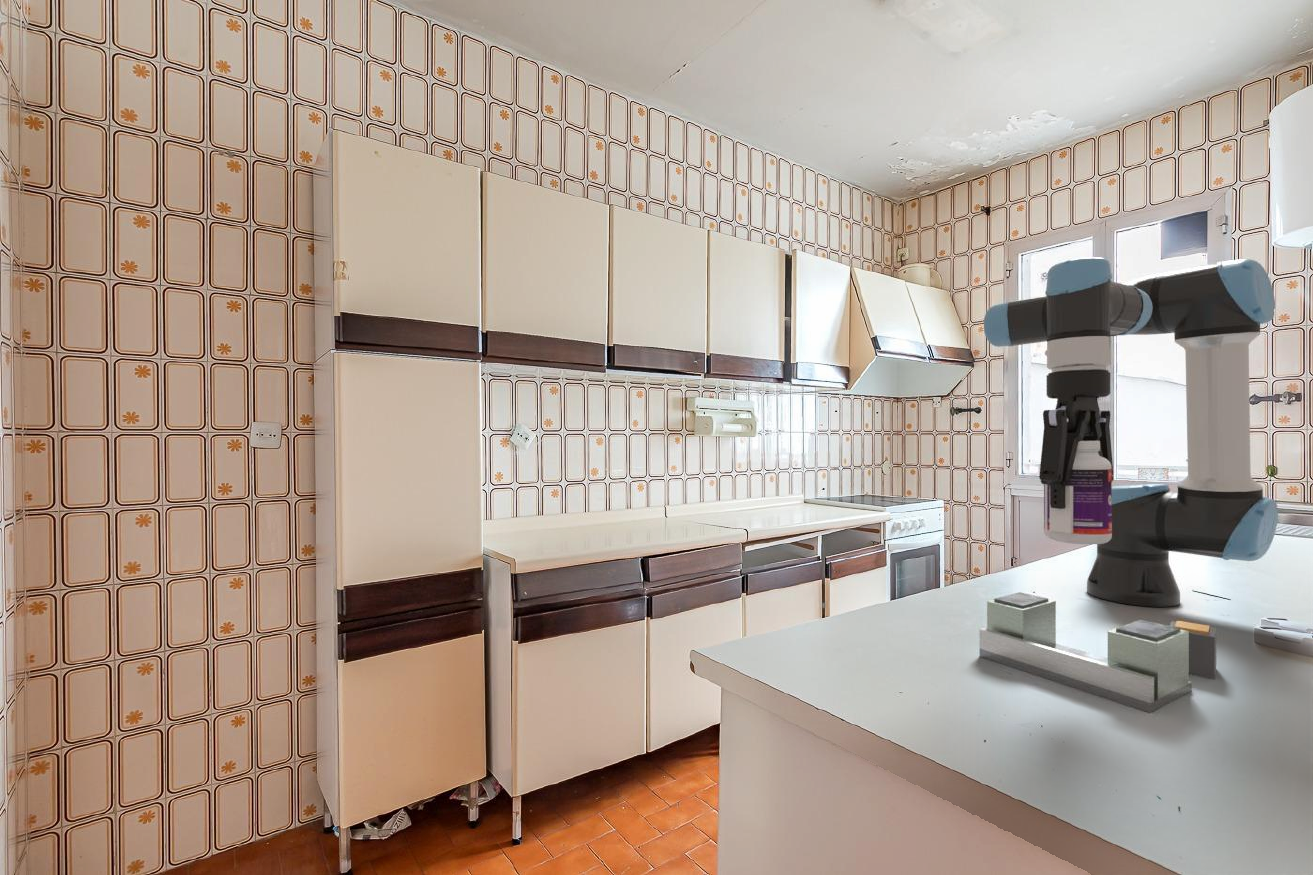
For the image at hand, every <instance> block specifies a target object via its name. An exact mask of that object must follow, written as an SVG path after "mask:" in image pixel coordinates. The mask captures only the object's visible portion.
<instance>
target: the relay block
mask: <svg viewBox="0 0 1313 875" xmlns="http://www.w3.org/2000/svg"><path fill="white" fill-rule="evenodd" d="M1168 626H1172V627H1177V628H1180V629H1182V630H1186V631H1189V675H1191V676H1195V677H1200V678H1205V679H1209V680H1215V679H1216V673H1217V637H1218V636H1217V634H1218V633H1217V628H1215V627H1210V625H1209V624H1200V623H1195V622H1188V621H1182V620H1176V621H1173V620H1171V621H1170V623H1169V625H1168Z"/></svg>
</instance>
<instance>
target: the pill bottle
mask: <svg viewBox="0 0 1313 875" xmlns="http://www.w3.org/2000/svg"><path fill="white" fill-rule="evenodd" d="M1099 449H1100V441H1079V442H1078V447H1077V451H1076V456H1075V460H1074V464H1073V469H1072V473H1071V477H1070V482H1069V485H1068V486H1073V533H1064V532H1056V531H1050V485H1048V484H1043V533H1044V535H1045V537H1047V538H1049V539H1050V540H1053V541H1056V542H1060V543H1065V544H1075V545H1076V544H1077V545H1097V544H1104V543H1107V542H1109V541H1110V540H1111V538H1112V487H1113V486H1112V483H1113V481H1112V478H1111V475H1112V474H1111V472H1112V470H1111V463H1110V462H1109V461H1108V460H1107V459H1106V458H1104V457H1101V456H1099V454H1098V451H1100V450H1099Z"/></svg>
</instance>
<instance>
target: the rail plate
mask: <svg viewBox="0 0 1313 875" xmlns="http://www.w3.org/2000/svg"><path fill="white" fill-rule="evenodd" d="M1056 602H1057V601H1056V600H1051V599H1049V598H1046V597H1042V596H1038V595H1034V594H1029V593H1024V592H1021V591H1020V592H1016V593H1011V594H1008V595H1007V594H1006V595H1003V596H999V597H996V598H994V599H991V600H988V601H986V628H984V627H983V628H982V627H981V628H979V629H978V630H979V631H978V632H979V633H978V634H979V657H981V658H983V659H984V658H985V659H988V660H990V661H993V662H997V663H999V664H1003V665H1006V666H1009V667H1011V668H1014V669H1017V670H1020V671H1023V672H1026V673H1030V674H1032V675H1035V676H1038V677H1041V678H1044V679H1046V680H1050V681H1053V682H1056V683H1059V684H1063V685H1066V686H1069V687H1071V688H1074V689H1078V690H1080V691H1083V692H1086V693H1089V694H1093V695H1094V696H1095V695H1096V696H1099V697H1102V698H1104V699H1107V700H1110V701H1114V702H1117V703H1119V704H1122V705H1126V706H1128V707H1131V708H1135V709H1138V710H1141V711H1144V712H1147V713H1149V714H1151V713H1152V712H1155V711H1156V710H1159V709H1160V708H1162V707H1165V706H1166V705H1168V704H1170V703H1171V702H1174V701H1175V700H1177V699H1179V698H1181V697H1183V696H1185V695H1187V694H1189V693H1191V692H1192V691H1193V687H1192V686H1193V682H1192V681H1190V680H1189V678H1190V677H1189V631H1186V630H1182V629H1180V628H1177V627H1172V626H1169V625H1168V624H1163V623H1159V622H1155V621H1154V622H1153V621H1148V620H1145V619H1138V620H1135V621H1131V622H1130V623H1127V624H1124V625H1121V626H1118V627H1116V628H1113V629H1111V630H1110V629H1109V630H1108V631H1107V657H1106V656H1105V657H1104V656H1101V655H1097V654H1094V653H1090V652H1086V651H1082V650H1080V649H1076V648H1073V647H1069V646H1066V645H1062V644H1058V643H1056V641H1057V640H1056V639H1057V638H1056V633H1057V630H1056V627H1057V626H1056V625H1057V623H1056V622H1057V621H1056V615H1057V614H1056V612H1057V610H1056V606H1057V605H1056Z"/></svg>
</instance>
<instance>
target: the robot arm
mask: <svg viewBox="0 0 1313 875" xmlns="http://www.w3.org/2000/svg"><path fill="white" fill-rule="evenodd" d="M1112 279H1113V274H1112V273H1111V263H1110V261H1109V260H1108V259H1106V258H1103V257H1094V256H1093V257H1092V256H1090V257H1089V256H1088V257H1080V258H1075V259H1069V260H1064V261H1061V262H1059V263H1056V264H1054V265H1052V266H1051V267H1050V268H1049V270H1048V271H1047V278H1046V289H1045V292H1044V293H1045V295H1041V296H1034V297H1028V298H1023V299H1018V300H1012V301H1010V300H1009V301H1006V302H1002V303H997V304H994V305H992V306H990V307H989V308H988V309H987V311H986V312H985V314H984V319H983V329H984V330H983V331H984V335H985V338H986V339H987V341H988V343H989V344H991V345H992V346H993V347H998V348H999V347H1014V346H1021V345H1027V344H1029V345H1030V344H1036V343H1037V344H1038V343H1045V342H1046V350H1045V352H1044V355H1045V357H1046V368H1047V369H1049V370H1051V372H1049V373H1047V375H1046V397H1047V398H1049V399H1056V405H1055V408H1054V409H1044V410H1043V413H1042V417H1043V418H1042V419H1043V435H1042V446H1041V456H1040V467H1039V480H1040V483H1041V484H1042V485H1044V484H1048V485H1050V531H1056V532H1064V533H1073V486H1068V485H1069V482H1070V477H1071V473H1072V469H1073V464H1074V460H1075V456H1076V451H1077V447H1078V442H1079V441H1100V449H1099V450H1100V451H1098V454H1099V456H1101V457H1104V458H1106V459H1107V460H1108V461H1109V462H1110V463H1111V470H1112V472H1111V474H1112V475H1111V478H1112V482H1113V481H1114V476H1113V475H1114V465H1113V452H1112V450H1113V449H1112V441H1111V440H1112V439H1111V430H1110V425H1111V411H1110V410H1109V409H1107V410H1100V406H1099V401H1098V400H1099V398H1106V397H1108V396H1110V395H1111V372H1110V370H1108V369H1106V368H1107V367H1110V366H1111V365H1112V350H1111V348H1112V344H1111V343H1112V342H1111V337H1118V336H1127V335H1130V336H1131V335H1132V336H1133V335H1137V336H1138V335H1140V336H1141V335H1142V336H1145V335H1146V336H1147V335H1148V336H1149V335H1165V334H1174V343H1176V344H1177V345H1178V346H1180V347H1182V348H1183V349H1184V351H1185V355H1184V356H1185V389H1186V390H1185V397H1186V442H1187V445H1186V446H1187V450H1186V451H1187V476H1186V477H1185V478H1184V479H1183V480H1181V481H1180V482H1178V483H1177V492H1176V491H1171V488H1170V487H1169V485H1168V484H1167V483H1147V484H1146V483H1143V484H1129V485H1125V484H1124V485H1117V486H1116V485H1115V486H1112V538H1111V540H1110V541H1109V542H1107V543H1104V544H1096V558H1095V560H1094V563H1093V564H1092V567H1091V570H1090V572H1089V575H1088V578H1087V581H1086V592H1087V593H1088V594H1090V596H1093V597H1096V598H1098V599H1102V600H1106V601H1110V602H1114V603H1115V602H1116V603H1118V604H1119V603H1120V604H1126V605H1130V606H1131V605H1132V606H1141V607H1142V606H1143V607H1154V608H1155V607H1156V608H1157V607H1159V608H1161V607H1162V608H1163V607H1164V608H1166V607H1175V606H1178V605H1180V604H1181V591H1180V588H1179V586H1178V583H1177V581H1176V577H1175V576H1174V574H1173V570H1172V568H1171V566H1170V561H1169V560H1170V559H1169V553H1170V552H1173V553H1182V554H1188V555H1189V554H1190V555H1196V556H1203V557H1204V556H1205V557H1211V558H1219V559H1222V560H1224V561H1229V560H1235V561H1243V562H1244V561H1245V562H1254V561H1258V560H1260V559H1262V558H1263V557H1264V556H1265V555H1266V554H1267V552H1268V551H1269V549H1270V547H1271V545H1272V543H1273V539H1274V538H1275V534H1276V531H1277V526H1278V518H1279V510H1278V504H1277V502H1276V501H1275V500H1274V499H1273V498H1269V497H1268V496H1264V495H1263V494H1264V492H1263V491H1264V490H1263V488H1264V487H1263V486H1262V485H1261V484H1260V483H1258V482H1257V481H1256V480H1254V478H1252V475H1251V472H1252V471H1251V421H1250V419H1251V416H1250V415H1251V414H1250V411H1251V410H1250V409H1251V408H1250V352H1249V351H1250V349H1249V346H1250V344H1251V343H1252V342H1253V341H1254V340H1255V339H1257V338H1258V337H1259V336H1260V335H1261V325H1264V324H1267V323H1269V322H1271V321H1273V319H1274V317H1275V309H1276V300H1275V293H1274V289H1273V285H1272V283H1271V279H1270V277H1269V275H1268V272H1267V271H1266V269H1265V268H1264V266H1263V265H1262V264H1261V263H1260V262H1258V261H1257V260H1255V259H1251V258H1244V259H1234V260H1226V261H1224V260H1223V261H1219V262H1215V263H1208V264H1204V265H1199V266H1194V267H1190V268H1184V269H1179V270H1174V271H1173V270H1172V271H1168V272H1163V273H1156V274H1152V275H1148V276H1144V277H1140V278H1137V279H1133V280H1131V281H1127V282H1123V283H1121V282H1116V281H1112Z"/></svg>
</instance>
